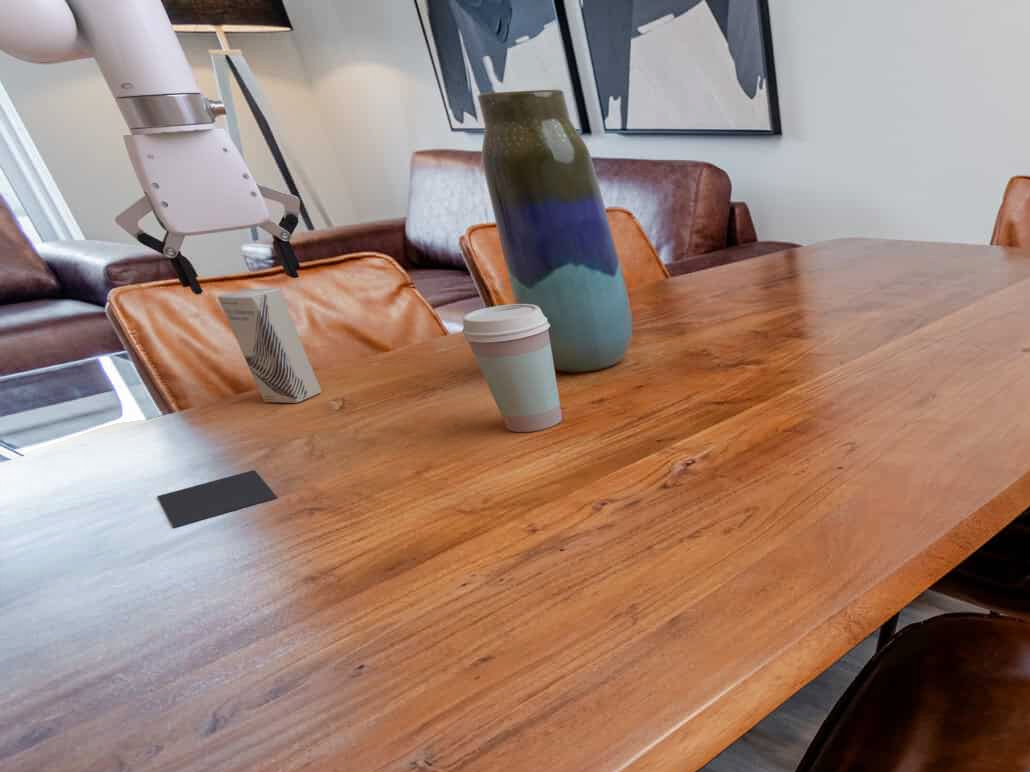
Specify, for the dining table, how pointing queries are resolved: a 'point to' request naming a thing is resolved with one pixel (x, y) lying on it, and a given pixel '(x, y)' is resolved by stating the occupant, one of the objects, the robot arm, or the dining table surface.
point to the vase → (555, 227)
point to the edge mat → (215, 498)
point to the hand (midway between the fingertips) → (246, 284)
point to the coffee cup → (516, 363)
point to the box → (270, 344)
